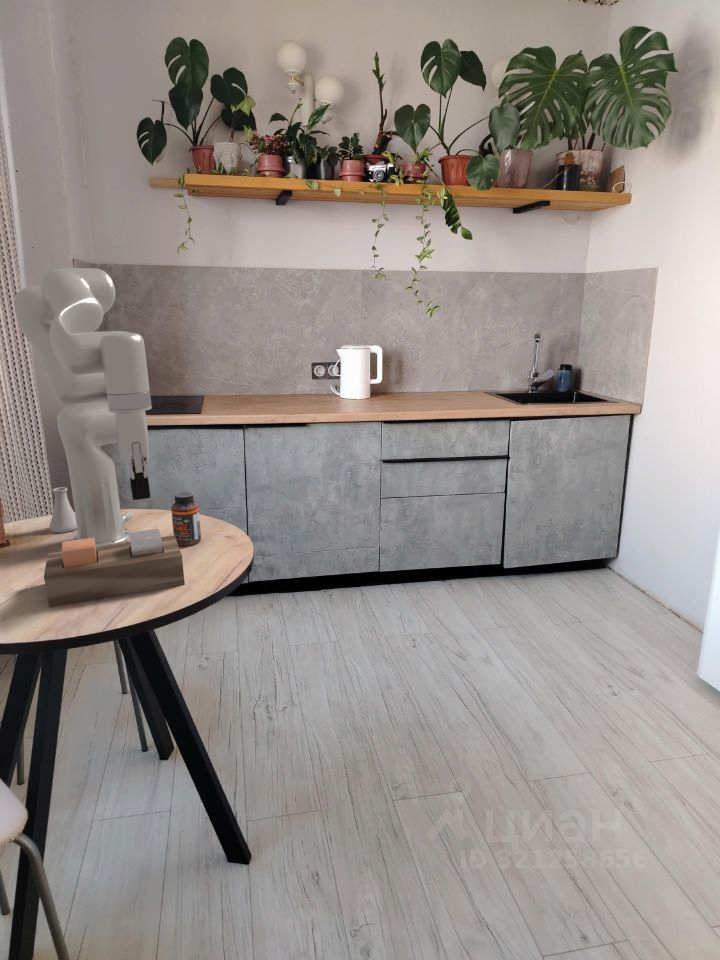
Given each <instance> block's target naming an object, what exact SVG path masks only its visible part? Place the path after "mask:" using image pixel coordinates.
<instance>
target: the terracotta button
mask: <svg viewBox="0 0 720 960" xmlns="http://www.w3.org/2000/svg"><path fill="white" fill-rule="evenodd" d="M61 551H62V558H63V564H64V568H66V567H73V566H79V565H86V564H93V563H98V562H97V554H96V547H95V540H94V538H87V539H80V540H73V541H72V540H67V541H66V540H65V541H62V544H61Z"/></svg>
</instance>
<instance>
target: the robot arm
mask: <svg viewBox="0 0 720 960" xmlns="http://www.w3.org/2000/svg"><path fill="white" fill-rule="evenodd" d="M13 300H14V302H13V304H14V305H13V306H14V312H15V317H16V320H17V322H18V325H19V327H20V330H21V332H22V333H23V335H24V337H25V339H27V341H28V342H29V343H30V345H31V346H32V348H34V350H35V352H36V354H37V355H38V357H39V359H40V361H41V364H42V367H43V370H44V373H45V375H46V378H47V382H48V384H49V388H50V389H51V391H52V393H53V396H54V398H55V400H56V401H58V403H60V404H61V405H66V406H65V407H63V408H62V409H61V410H60V411H59V412H58V414H57V417H56V422H57V423H56V425H57V429H58V432H59V436H60V439H61V442H62V446H63V448H64V452H65V457H66V460H67V467H68V474H69V480H70V482H69V483H70V486H71V495H72V500H73V509H74V513H75V516H76V523H77V529H76V531H77V534H76V535H74V537H72V538H71V541H73V540H80V539H87V538H94V540H95V547H96V546H103V545H110V544H117V543H124V542H129V541H130V537H129V533H130V532H131V531H130V530H129V529H127V528H126V527H125V526H124V525H125V524H126V523H127V522H129V521H130V520H131V519H132V518H133V517H132V514H131V513H130V512H124V513H123V514H122V512H121V505H120V496H119V488H118V487H119V486H118V481H117V474H116V473H117V472H116V467H115V463H114V461H113V459H112V458H111V456H110V455H108V454H107V453H106V452H105V451H103V450H102V448H101V446H104V445H108V444H115V443H118V450H119V452H118V453H119V458H120V463H121V466H122V467H124V468H126V467H127V465H129V471H130V478H129V480H130V489H131V497H132V500H133V501H139V500H146V499H150V498H151V491H150V490H151V489H150V483H149V476H148V474H147V467H146V466H147V465H148V464H149V463H150V446H149V444H150V443H149V442H150V441H149V431H148V422H147V413H146V411H149V410H152V409H153V405H152V400H151V399H152V398H151V390H150V381H149V373H148V365H147V363H148V362H147V355H146V346H145V341H144V340H145V339H144V338H143V336H142V335H141V334H139V333H136V332H129V331H125V330H111V331H110V330H109V331H103V330H102V331H96V330H98V329H99V328H100V326H101V324H102V323H103V319H104V315H105V314H106V313H107V312H108V311H110V309H111V308H112V307H113V305H114V304H115V301H116V287H115V284H114V281H113V279H112V277H111V276H110V275H109V274H108V273H107V272H106V271H104V270H102V269H100V268H89V267H86V268H85V267H84V268H83V267H79V268H78V267H63V268H54V269H51V270H48V271H47V272H46V273H45V274H44V275H42V277H41V279H40V281H39V285H34V286H27V287H24V288H22V289H20V290H19V291H18V292H17V293H16V294H15V296H14V299H13Z"/></svg>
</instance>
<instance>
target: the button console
mask: <svg viewBox="0 0 720 960" xmlns="http://www.w3.org/2000/svg"><path fill="white" fill-rule="evenodd" d="M161 541H162V550H163V553H159V554H152V555H145V556H139V557H132V553H131V545H130V541H127V542H124V543H117V544H110V545H103V546H96V554H97V562H98V563H93V564H86V565H79V566H73V567H66V568H64V564H63V558H62V550H61V551H56V552H48V553H47V555H46V561H45V568H44V574H43V580H44V586H45V593H46V599H47V604H48V608H53V607H59V606H65V605H71V604H78V603H83V602H88V601H89V602H90V601H95V600H102V599H106V598H107V599H108V598H113V597H118V596H125V595H130V594H135V593H142V592H147V591H153V590H154V591H155V590H160V589H165V588H171V587H172V588H173V587H177V586H183V585H186V584H185V582H186V581H185V574H184V563H183V555H182V552H181V549H180V547H179V546H180V545H178V543H177V541H176V538H175V535H174V534H173V535H168V536H167V535H166V536H161Z"/></svg>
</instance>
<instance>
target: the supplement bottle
mask: <svg viewBox="0 0 720 960" xmlns="http://www.w3.org/2000/svg"><path fill="white" fill-rule="evenodd" d="M174 501H175V502H174V503H173V504H172V505H171V508H170V509H171V510H170V511H171V520H172V530H173V531H172V532H173V535H175V538H176V541H177V543H178V546H182V547H188V546H194V545H196V544H199V543H200V542H201V540H202V533H201V532H202V531H201V519H200V511H199V510H200V508H199V503H198V502H196V501H195V500H194V493H193V492H191V491H181V492H178V493H175V494H174Z"/></svg>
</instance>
